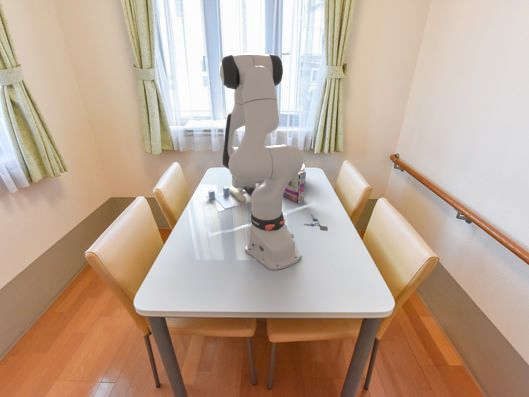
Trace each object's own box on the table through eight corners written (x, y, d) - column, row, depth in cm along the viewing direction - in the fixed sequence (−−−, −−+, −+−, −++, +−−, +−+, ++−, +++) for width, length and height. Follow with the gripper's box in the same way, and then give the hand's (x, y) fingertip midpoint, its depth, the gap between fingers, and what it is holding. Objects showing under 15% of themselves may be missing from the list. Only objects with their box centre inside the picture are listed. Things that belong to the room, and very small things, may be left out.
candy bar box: (304, 201, 135) (306, 171, 127) (297, 205, 132) (299, 174, 124) (288, 194, 142) (289, 165, 134) (281, 197, 139) (282, 168, 131)
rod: (246, 201, 133) (246, 195, 131) (240, 203, 131) (240, 197, 130) (234, 191, 143) (233, 185, 142) (228, 192, 142) (228, 187, 140)
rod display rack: (269, 198, 138) (269, 189, 135) (219, 213, 125) (218, 203, 122) (252, 186, 151) (252, 177, 148) (205, 198, 138) (204, 188, 136)
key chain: (330, 230, 113) (331, 228, 113) (315, 235, 110) (315, 233, 109) (311, 215, 124) (311, 213, 124) (296, 219, 121) (296, 217, 120)
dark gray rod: (261, 198, 136) (262, 192, 135) (255, 199, 134) (256, 192, 133) (246, 187, 148) (247, 181, 147) (240, 187, 146) (241, 181, 145)
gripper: (234, 173, 126) (236, 198, 133) (270, 165, 136) (270, 189, 142) (229, 169, 131) (230, 193, 138) (264, 161, 141) (264, 185, 147)
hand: (251, 191), depth 140 cm, fingers open, 8 cm apart
